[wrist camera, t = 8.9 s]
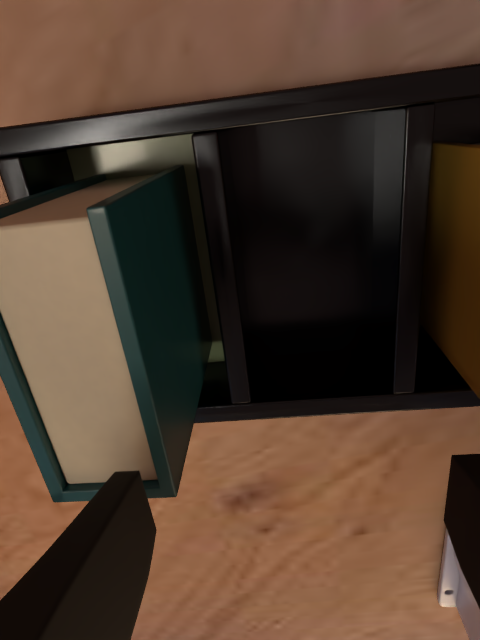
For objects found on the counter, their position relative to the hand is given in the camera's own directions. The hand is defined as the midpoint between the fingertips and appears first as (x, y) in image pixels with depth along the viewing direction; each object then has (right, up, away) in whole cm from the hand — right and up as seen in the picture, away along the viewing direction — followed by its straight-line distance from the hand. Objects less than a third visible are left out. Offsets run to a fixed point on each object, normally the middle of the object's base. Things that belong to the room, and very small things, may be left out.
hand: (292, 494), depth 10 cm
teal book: (-5, +6, +7) cm, 11 cm away
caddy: (+2, +7, +7) cm, 10 cm away
